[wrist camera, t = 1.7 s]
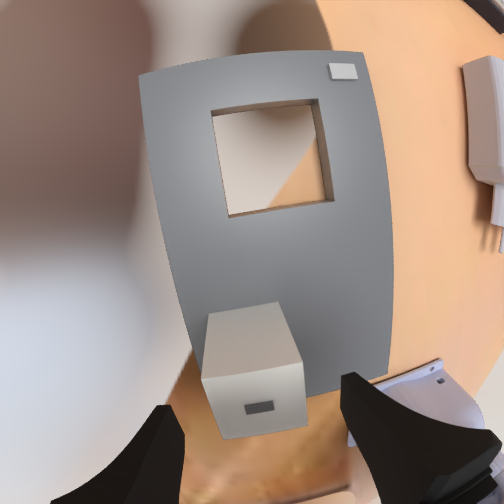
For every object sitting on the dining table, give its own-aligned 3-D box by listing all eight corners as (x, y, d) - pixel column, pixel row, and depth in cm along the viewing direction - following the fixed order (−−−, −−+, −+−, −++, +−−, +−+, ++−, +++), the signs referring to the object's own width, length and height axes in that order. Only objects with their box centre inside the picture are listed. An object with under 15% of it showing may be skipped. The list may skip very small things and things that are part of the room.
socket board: (353, 60, 15) (365, 50, 13) (379, 363, 20) (389, 376, 18) (145, 83, 14) (136, 73, 12) (215, 400, 20) (214, 416, 18)
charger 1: (278, 301, 16) (303, 363, 10) (285, 357, 17) (308, 427, 11) (208, 313, 16) (200, 381, 10) (223, 368, 17) (223, 442, 11)
